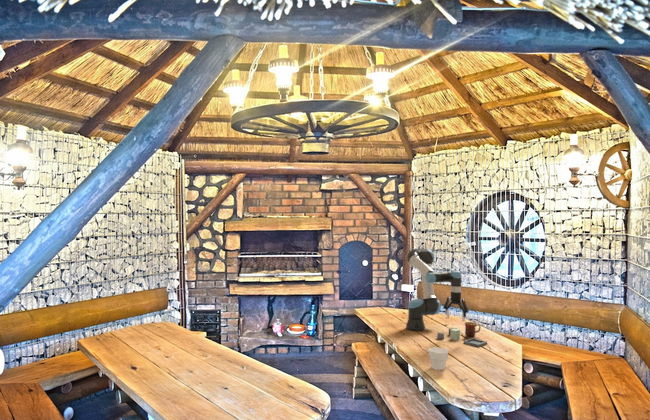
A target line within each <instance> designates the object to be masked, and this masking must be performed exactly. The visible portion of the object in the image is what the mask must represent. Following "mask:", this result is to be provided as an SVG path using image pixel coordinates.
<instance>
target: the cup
mask: <svg viewBox="0 0 650 420" xmlns="http://www.w3.org/2000/svg"><path fill="white" fill-rule="evenodd" d="M448 357H449V349H447V348H444V347H437V346H436V347H434V346H433V347H430V348H428V358H429V360H430V365H431V367H430V368H431V369H433V370H435V371H436V370H437V371H443V370H445V369H446V363H447V359H448Z"/></svg>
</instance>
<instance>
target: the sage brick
mask: <svg viewBox="0 0 650 420" xmlns="http://www.w3.org/2000/svg"><path fill="white" fill-rule="evenodd" d="M449 337H450V340H453V341H458V339H459V340H460V339H461V329H451V330H450V335H449Z"/></svg>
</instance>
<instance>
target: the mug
mask: <svg viewBox="0 0 650 420" xmlns="http://www.w3.org/2000/svg"><path fill="white" fill-rule="evenodd" d="M464 325H465V327H464V329H465V331H464V333H465V334H464V335H465V336H466V338H470V337H472V338H475V337H476V333H478V332H480V331H481V325H480V324H478V323H476V322H473V321H464ZM476 327H479V328H478V330H476Z"/></svg>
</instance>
